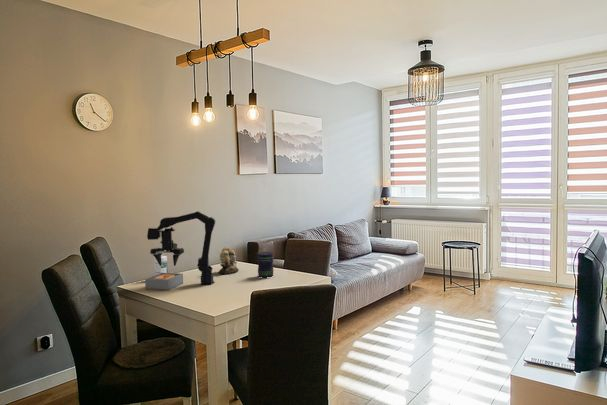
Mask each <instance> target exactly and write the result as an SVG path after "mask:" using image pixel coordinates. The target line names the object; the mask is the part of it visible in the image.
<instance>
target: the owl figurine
mask: <svg viewBox="0 0 607 405" xmlns="http://www.w3.org/2000/svg"><path fill="white" fill-rule="evenodd" d="M236 257H237V256H236V253H235V251H234V250H233V249H231V248H230V247H228V246H225V247H223V248H222V249H221V252H220V254H219V258H220V259H219V260H220V262H221V263H220V266H221V268H220V269H219V270H218V274H219V275H232V274H236V273H238V272H239V268H238V267H237V261H236V260H237V259H236Z"/></svg>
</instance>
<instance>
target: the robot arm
mask: <svg viewBox="0 0 607 405" xmlns="http://www.w3.org/2000/svg"><path fill="white" fill-rule="evenodd" d="M195 219H197V220H198V221H200V222H201V223H203V224H204V232H205V233H204V239H203V245H202V252H201V257H198V259H197V265H196V267H197V269H198V271H199V272H201V274H200V275H201V276H200V282H199V285H205V286H206V285H207V286H208V285H209V286H210V285H213V284H215V281H214V272H213V270H214V269H213V267H212V266H211V265H210V260H209V258H210V257H209V255H210V249H211V248H210V247H211V241H212V235H213V231H214V228H215V225H216V219H215V218H214V217H212V216H208V215H206V214H204V213H202V212H200V211H195V212H191V213H187V214H184V215H183V214H182V215H179V216H169V217H163V218H162V219H160V221H159V225H158V227H148V229H147V235H146V238H147V240H148V241H152V240H155V241H156V240H159V239H161V241H160V242H159V244H161V247H154V248H151V249H150V251H149V252H150V255H152V256H153V258H154V257H155V258H156V260H157V261H158V263H159V265H160V266H161V256H163V255H162V253H163V254H164V253H167V254H169V253H173V254H172V259H173V260H172V261H173V266H174V267H176V266H177V262H178V260H179V257H180V256H181V255H182V254H184V253H185V249H184V248H183V247H178V243H175V242H174V240H173V236H172V234H173V233H172V232H175V231H176V229H175V228H173V226H174V225H176V224H180V223H182V222H188V221H191V220H192V221H193V220H195ZM163 229H164V230H163Z"/></svg>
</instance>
